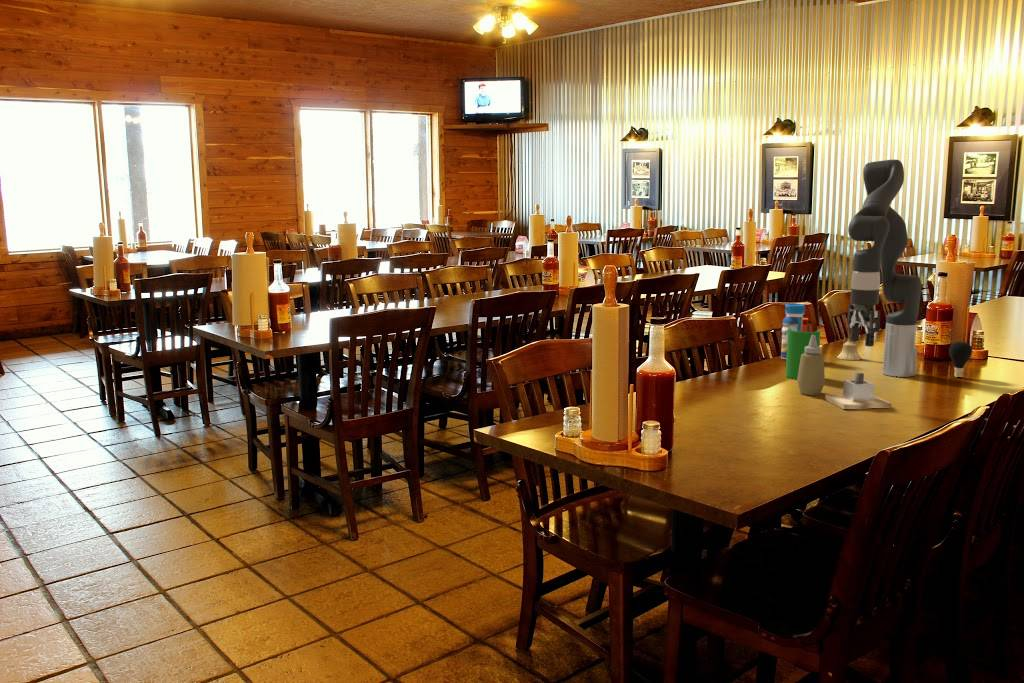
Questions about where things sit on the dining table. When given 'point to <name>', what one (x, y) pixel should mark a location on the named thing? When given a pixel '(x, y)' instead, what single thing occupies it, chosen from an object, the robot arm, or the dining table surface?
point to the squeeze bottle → (811, 369)
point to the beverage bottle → (791, 323)
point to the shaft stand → (849, 404)
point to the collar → (858, 391)
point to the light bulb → (960, 356)
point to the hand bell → (849, 349)
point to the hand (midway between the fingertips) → (861, 343)
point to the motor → (798, 347)
